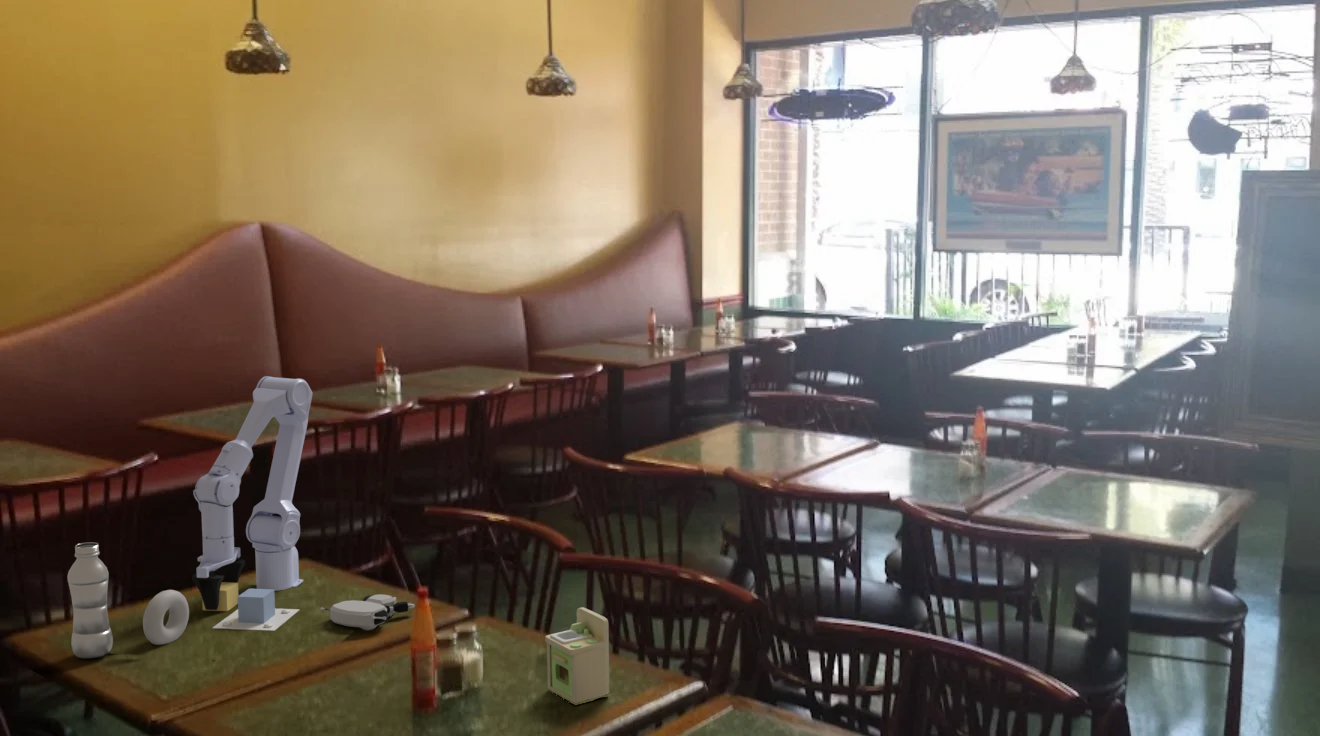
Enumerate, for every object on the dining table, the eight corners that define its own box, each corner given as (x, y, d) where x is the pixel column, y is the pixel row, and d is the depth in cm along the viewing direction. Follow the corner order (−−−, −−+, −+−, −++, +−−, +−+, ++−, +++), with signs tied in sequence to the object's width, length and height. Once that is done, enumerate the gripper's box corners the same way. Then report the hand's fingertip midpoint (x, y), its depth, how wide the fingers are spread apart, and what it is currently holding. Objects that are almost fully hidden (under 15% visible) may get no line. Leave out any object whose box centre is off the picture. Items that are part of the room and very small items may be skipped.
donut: (155, 655, 209) (152, 600, 208) (139, 652, 210) (136, 597, 209) (194, 636, 218) (192, 583, 217) (179, 634, 219) (176, 581, 218)
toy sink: (543, 691, 194) (543, 613, 193) (580, 680, 199) (580, 605, 197) (571, 708, 188) (571, 628, 186) (610, 697, 192) (610, 619, 190)
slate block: (250, 613, 228) (249, 588, 228) (275, 614, 228) (274, 589, 227) (238, 622, 224) (237, 596, 223) (264, 623, 223) (263, 597, 222)
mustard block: (214, 606, 235) (213, 581, 235) (239, 607, 235) (238, 582, 234) (202, 614, 231) (201, 589, 230) (227, 615, 230) (226, 590, 229)
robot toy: (367, 611, 236) (317, 628, 222) (368, 588, 236) (317, 605, 222) (418, 619, 231) (371, 638, 218) (419, 596, 231) (371, 614, 217)
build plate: (240, 611, 232) (240, 605, 232) (300, 613, 231) (299, 607, 231) (212, 632, 221) (212, 626, 220) (274, 634, 219) (274, 628, 219)
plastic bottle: (97, 664, 204) (91, 551, 202) (63, 661, 206) (56, 548, 203) (121, 651, 210) (116, 541, 208) (88, 648, 212) (82, 539, 209)
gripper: (215, 525, 238) (218, 590, 240) (180, 544, 224) (182, 614, 226) (249, 526, 238) (251, 592, 239) (216, 545, 223) (218, 615, 225)
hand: (220, 603), depth 233 cm, fingers open, 7 cm apart
